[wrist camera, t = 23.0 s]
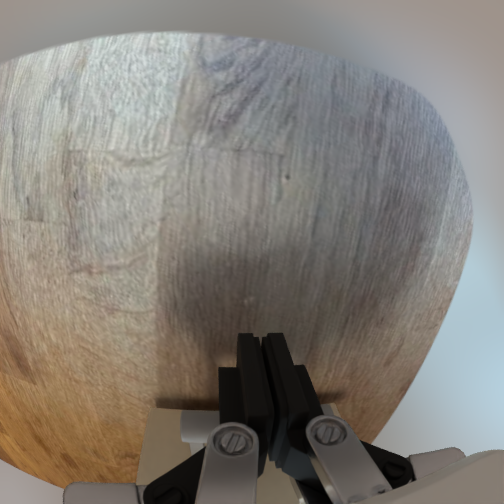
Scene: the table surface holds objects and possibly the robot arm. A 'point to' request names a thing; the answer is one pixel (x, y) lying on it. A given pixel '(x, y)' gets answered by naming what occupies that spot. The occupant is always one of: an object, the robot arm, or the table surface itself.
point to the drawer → (194, 439)
